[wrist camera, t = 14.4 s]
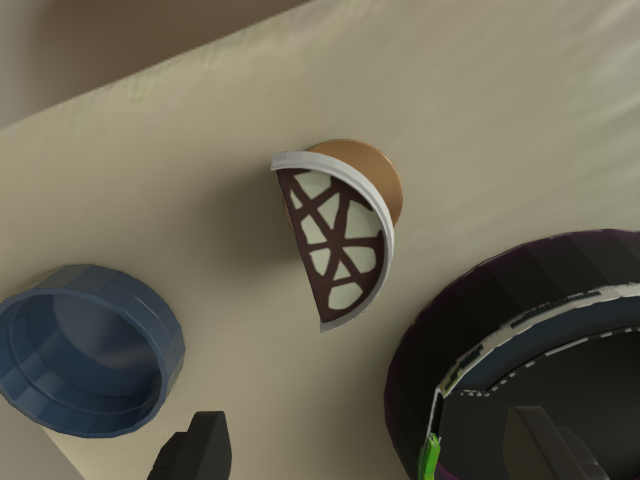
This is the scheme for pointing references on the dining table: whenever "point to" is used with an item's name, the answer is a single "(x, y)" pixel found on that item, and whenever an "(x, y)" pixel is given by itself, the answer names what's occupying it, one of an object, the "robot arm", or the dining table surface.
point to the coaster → (365, 171)
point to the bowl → (88, 351)
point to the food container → (337, 232)
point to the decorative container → (524, 358)
